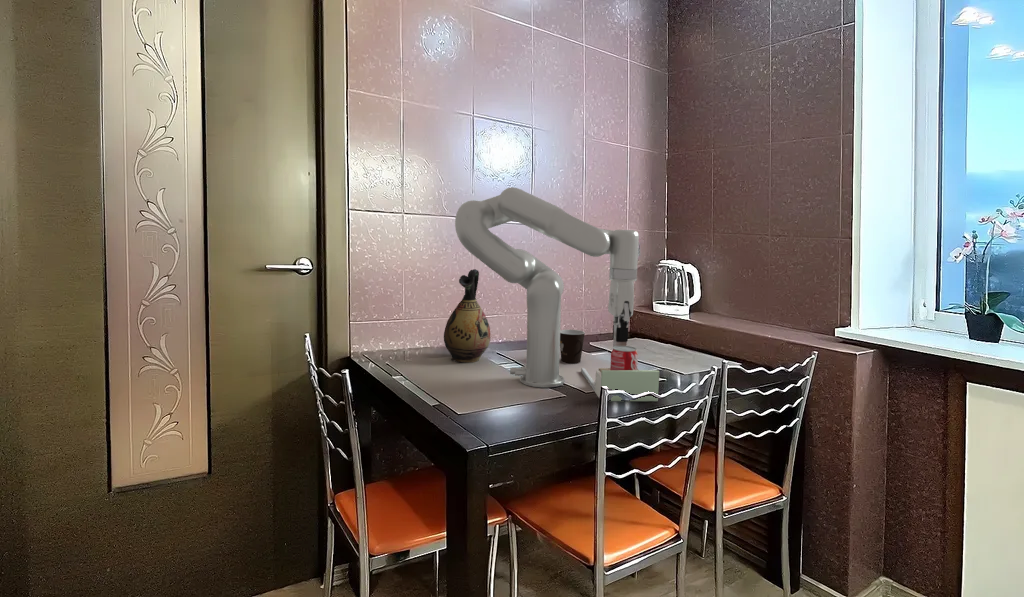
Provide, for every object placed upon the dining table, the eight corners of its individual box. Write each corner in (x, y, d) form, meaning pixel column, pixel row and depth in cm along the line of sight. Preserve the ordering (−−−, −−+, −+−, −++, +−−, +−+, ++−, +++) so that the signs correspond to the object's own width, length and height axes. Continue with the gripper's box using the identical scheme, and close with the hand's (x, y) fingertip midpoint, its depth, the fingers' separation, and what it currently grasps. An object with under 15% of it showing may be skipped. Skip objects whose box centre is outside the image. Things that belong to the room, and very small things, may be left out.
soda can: (634, 400, 149) (636, 352, 147) (606, 397, 151) (609, 349, 150) (637, 393, 156) (640, 346, 154) (611, 389, 158) (613, 344, 156)
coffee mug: (558, 357, 194) (559, 329, 193) (583, 359, 193) (585, 330, 192) (556, 366, 183) (557, 335, 181) (583, 367, 182) (584, 337, 180)
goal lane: (601, 401, 148) (602, 371, 147) (581, 371, 177) (582, 346, 176) (657, 401, 149) (659, 371, 148) (628, 371, 178) (630, 346, 176)
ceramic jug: (482, 367, 180) (484, 272, 176) (436, 363, 183) (437, 270, 179) (496, 355, 196) (498, 268, 192) (454, 351, 200) (454, 266, 196)
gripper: (603, 272, 164) (600, 334, 167) (617, 277, 148) (613, 346, 151) (628, 272, 165) (625, 334, 167) (645, 278, 149) (641, 346, 151)
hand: (620, 339), depth 159 cm, fingers closed on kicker, 3 cm apart
